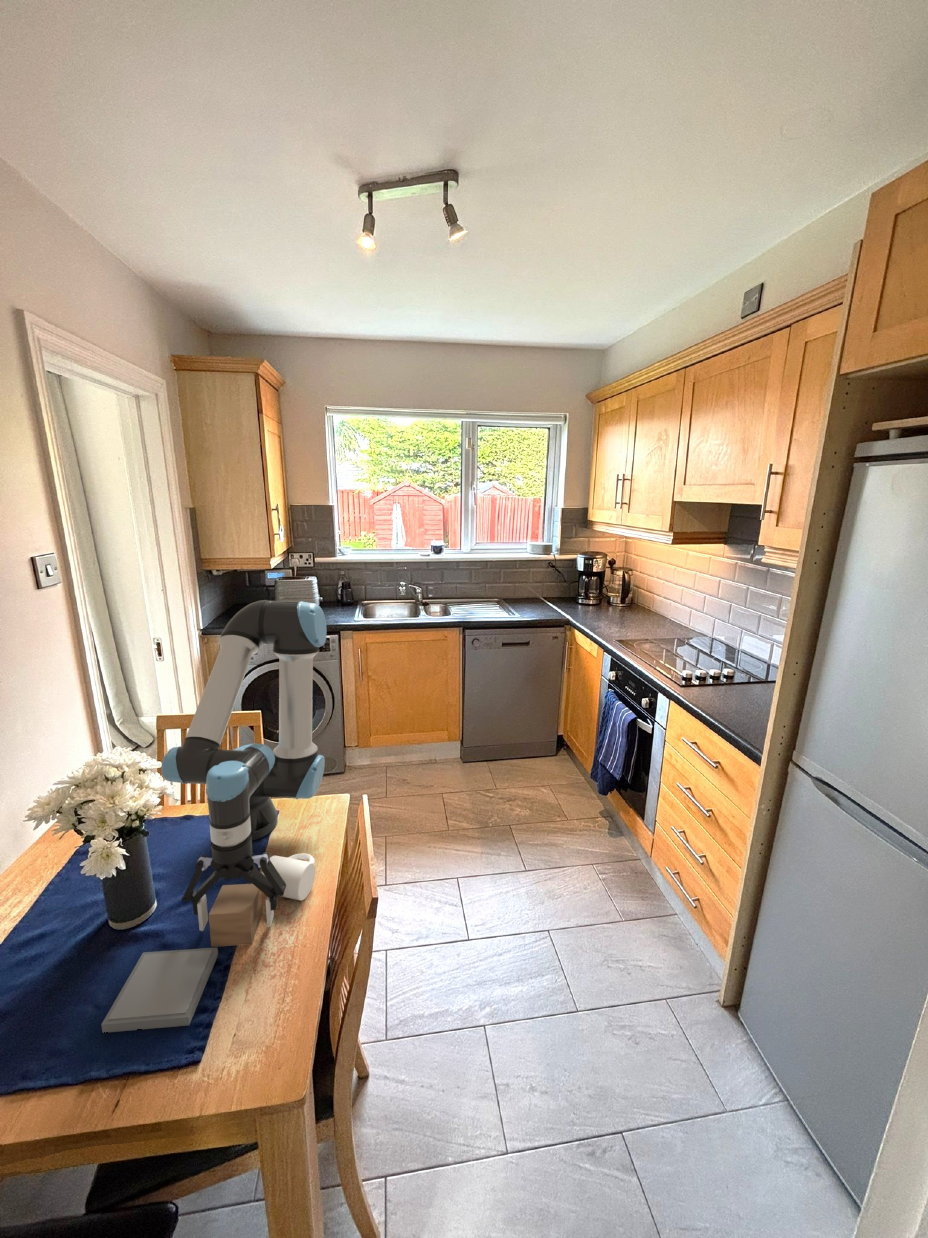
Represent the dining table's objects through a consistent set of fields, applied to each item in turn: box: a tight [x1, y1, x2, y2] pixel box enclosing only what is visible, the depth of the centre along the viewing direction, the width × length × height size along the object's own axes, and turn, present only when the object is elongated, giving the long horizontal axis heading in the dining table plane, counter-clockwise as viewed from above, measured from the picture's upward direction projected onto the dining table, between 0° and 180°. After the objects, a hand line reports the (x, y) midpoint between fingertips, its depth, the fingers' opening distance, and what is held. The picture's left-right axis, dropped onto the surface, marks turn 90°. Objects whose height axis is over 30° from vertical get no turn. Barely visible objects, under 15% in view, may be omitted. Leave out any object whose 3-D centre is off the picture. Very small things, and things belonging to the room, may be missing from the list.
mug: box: [261, 852, 316, 901], centre depth 118 cm, size 12×10×8 cm
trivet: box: [100, 947, 219, 1034], centre depth 92 cm, size 14×14×2 cm
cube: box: [208, 883, 263, 948], centre depth 105 cm, size 8×8×8 cm
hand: (237, 923), depth 105 cm, fingers open, 13 cm apart
